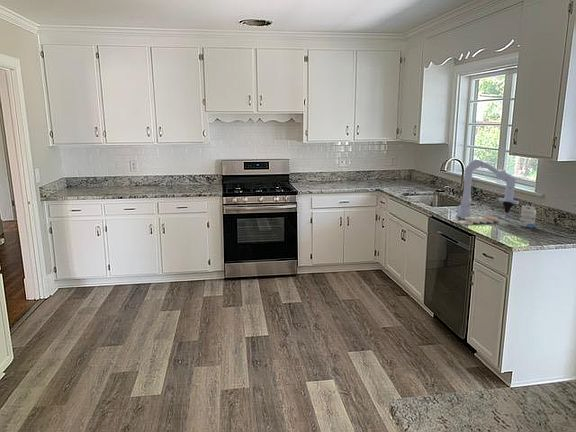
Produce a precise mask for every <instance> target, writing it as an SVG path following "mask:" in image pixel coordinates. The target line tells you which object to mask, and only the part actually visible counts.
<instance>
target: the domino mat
mask: <svg viewBox="0 0 576 432" xmlns="http://www.w3.org/2000/svg"><path fill="white" fill-rule="evenodd" d="M496 219H497V220H499V223H498V222H495V221H493V223H490V222H487V223H483V222H480V221H479V222H480V223H479V224H478V223H475V222H473V224H472V225H474V226H476V225H502V224H505V225H506V224H510V222H508V221H505V220H503V219H500V218H499V219H498V218H496ZM491 221H492V220H491Z"/></svg>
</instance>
